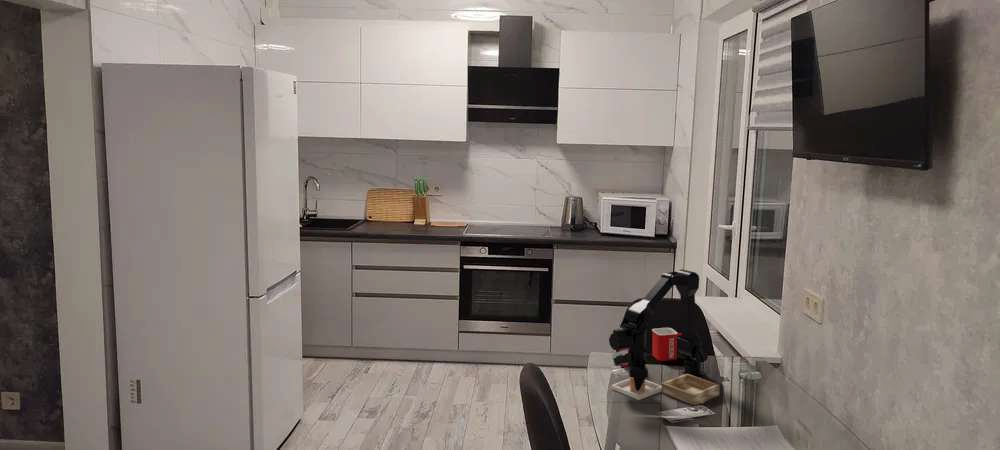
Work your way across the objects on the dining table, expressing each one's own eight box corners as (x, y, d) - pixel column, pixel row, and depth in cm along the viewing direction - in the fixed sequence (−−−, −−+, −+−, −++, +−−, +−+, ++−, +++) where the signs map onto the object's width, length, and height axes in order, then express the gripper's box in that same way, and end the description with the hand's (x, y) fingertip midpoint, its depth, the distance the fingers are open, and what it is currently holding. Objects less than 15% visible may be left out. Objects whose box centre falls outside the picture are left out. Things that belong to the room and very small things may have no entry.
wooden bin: (686, 384, 244) (686, 373, 243) (719, 396, 233) (719, 384, 233) (661, 394, 236) (661, 383, 235) (693, 406, 225) (694, 395, 225)
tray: (635, 381, 248) (635, 376, 248) (663, 391, 238) (663, 386, 238) (611, 390, 241) (611, 385, 240) (638, 401, 231) (638, 396, 230)
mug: (658, 361, 267) (658, 335, 265) (650, 354, 275) (650, 329, 273) (687, 359, 269) (688, 332, 267) (678, 352, 277) (679, 326, 275)
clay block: (629, 386, 242) (629, 373, 241) (644, 386, 241) (644, 373, 240) (630, 392, 237) (630, 378, 236) (645, 392, 236) (645, 378, 236)
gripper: (613, 335, 247) (613, 376, 249) (614, 353, 229) (614, 397, 231) (644, 335, 245) (644, 377, 248) (648, 353, 227) (648, 398, 229)
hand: (637, 387), depth 239 cm, fingers closed on clay block, 5 cm apart
